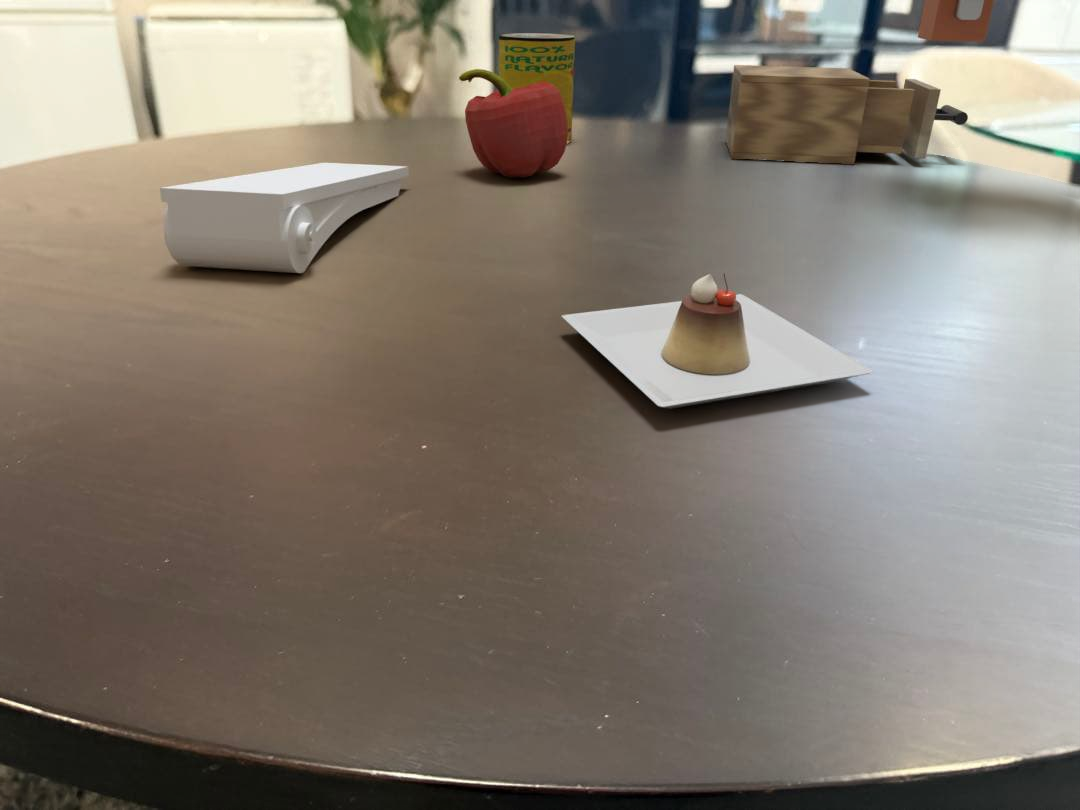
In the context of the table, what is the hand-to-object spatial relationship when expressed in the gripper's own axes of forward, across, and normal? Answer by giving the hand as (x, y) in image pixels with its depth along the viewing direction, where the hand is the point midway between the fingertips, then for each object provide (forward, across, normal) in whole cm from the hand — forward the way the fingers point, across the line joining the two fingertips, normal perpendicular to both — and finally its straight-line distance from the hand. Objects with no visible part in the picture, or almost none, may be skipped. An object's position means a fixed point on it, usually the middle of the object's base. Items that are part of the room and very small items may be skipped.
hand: (954, 18), depth 73 cm
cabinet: (+16, +21, +10) cm, 28 cm away
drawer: (+15, +21, -1) cm, 26 cm away
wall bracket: (+15, -20, +52) cm, 58 cm away
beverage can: (+15, +22, +40) cm, 48 cm away
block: (+2, 0, 0) cm, 2 cm away
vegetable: (+15, +2, +40) cm, 42 cm away
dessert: (+15, -42, +22) cm, 50 cm away
